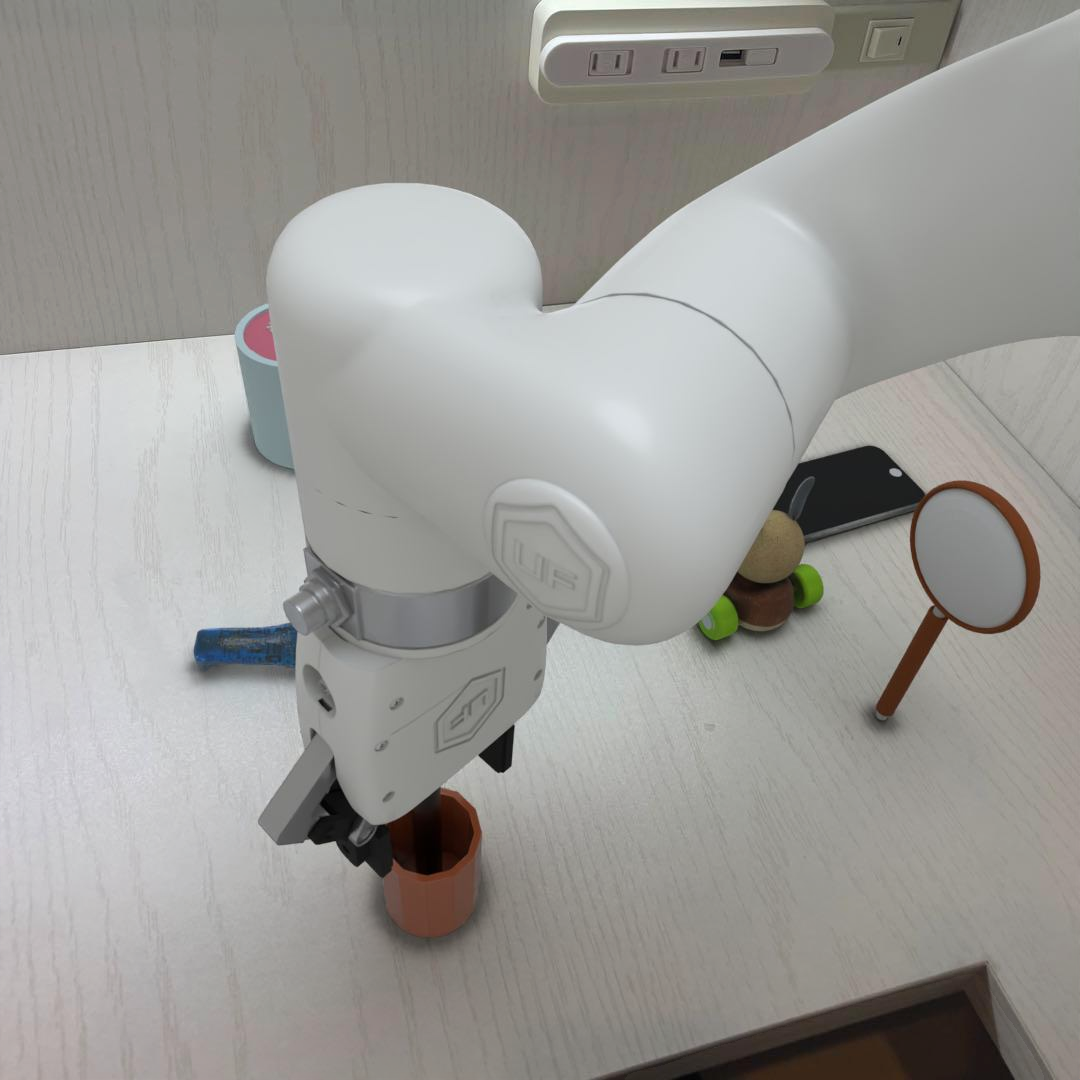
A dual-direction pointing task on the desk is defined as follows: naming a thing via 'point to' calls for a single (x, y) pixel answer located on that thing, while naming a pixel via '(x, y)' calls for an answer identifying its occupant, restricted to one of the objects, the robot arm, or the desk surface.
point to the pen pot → (442, 895)
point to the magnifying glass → (966, 571)
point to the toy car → (768, 577)
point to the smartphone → (850, 491)
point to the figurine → (247, 646)
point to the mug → (263, 386)
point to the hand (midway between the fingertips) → (428, 799)
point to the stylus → (428, 834)
